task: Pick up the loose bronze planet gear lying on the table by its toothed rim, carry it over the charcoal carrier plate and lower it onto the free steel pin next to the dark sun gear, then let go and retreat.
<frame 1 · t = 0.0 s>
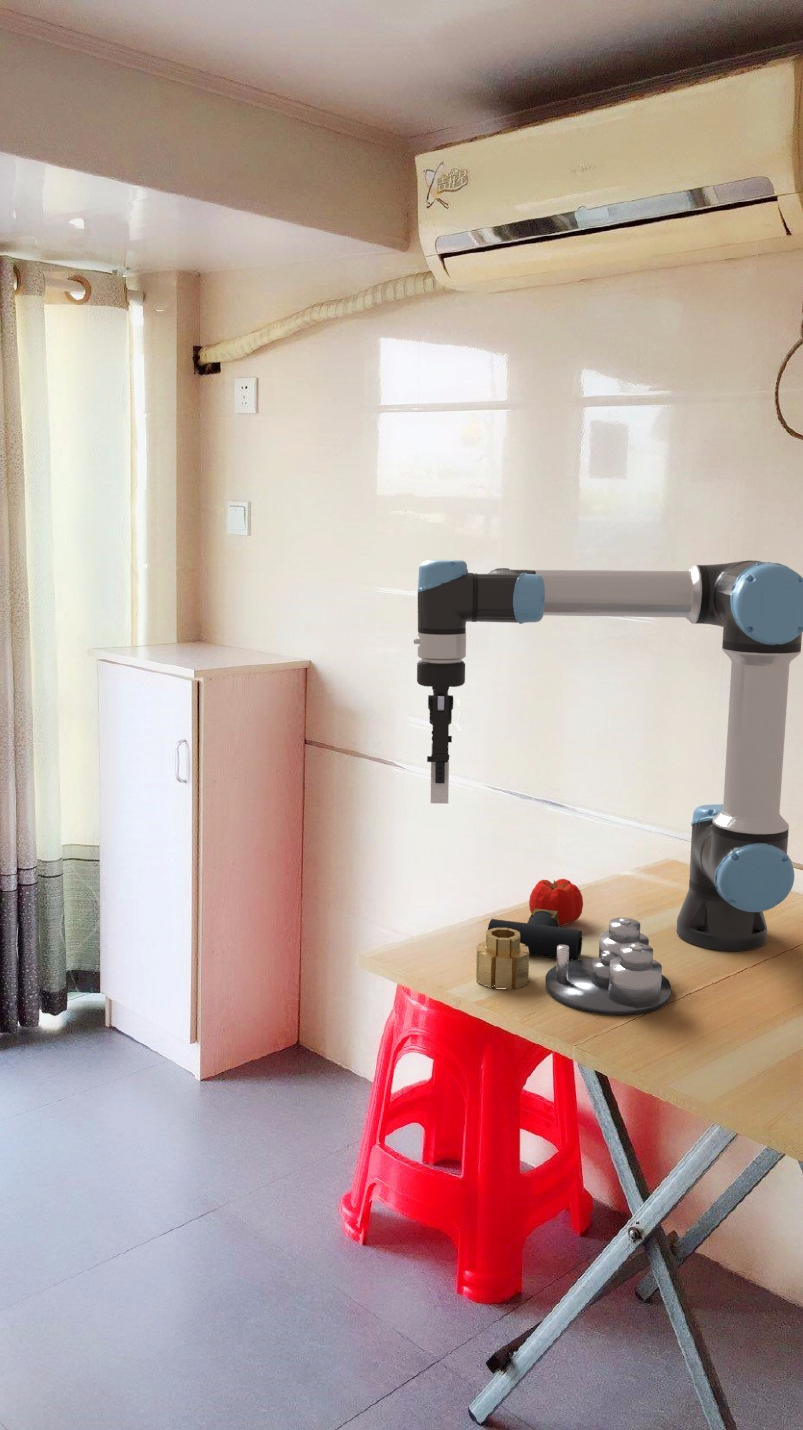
hand: (439, 792, 185), 28 cm above the table, fingers open, 13 cm apart
planet gear: (501, 979, 182), on the table
tomato: (555, 924, 207), on the table
pipe connector: (538, 948, 196), on the table
carrier: (607, 989, 178), on the table
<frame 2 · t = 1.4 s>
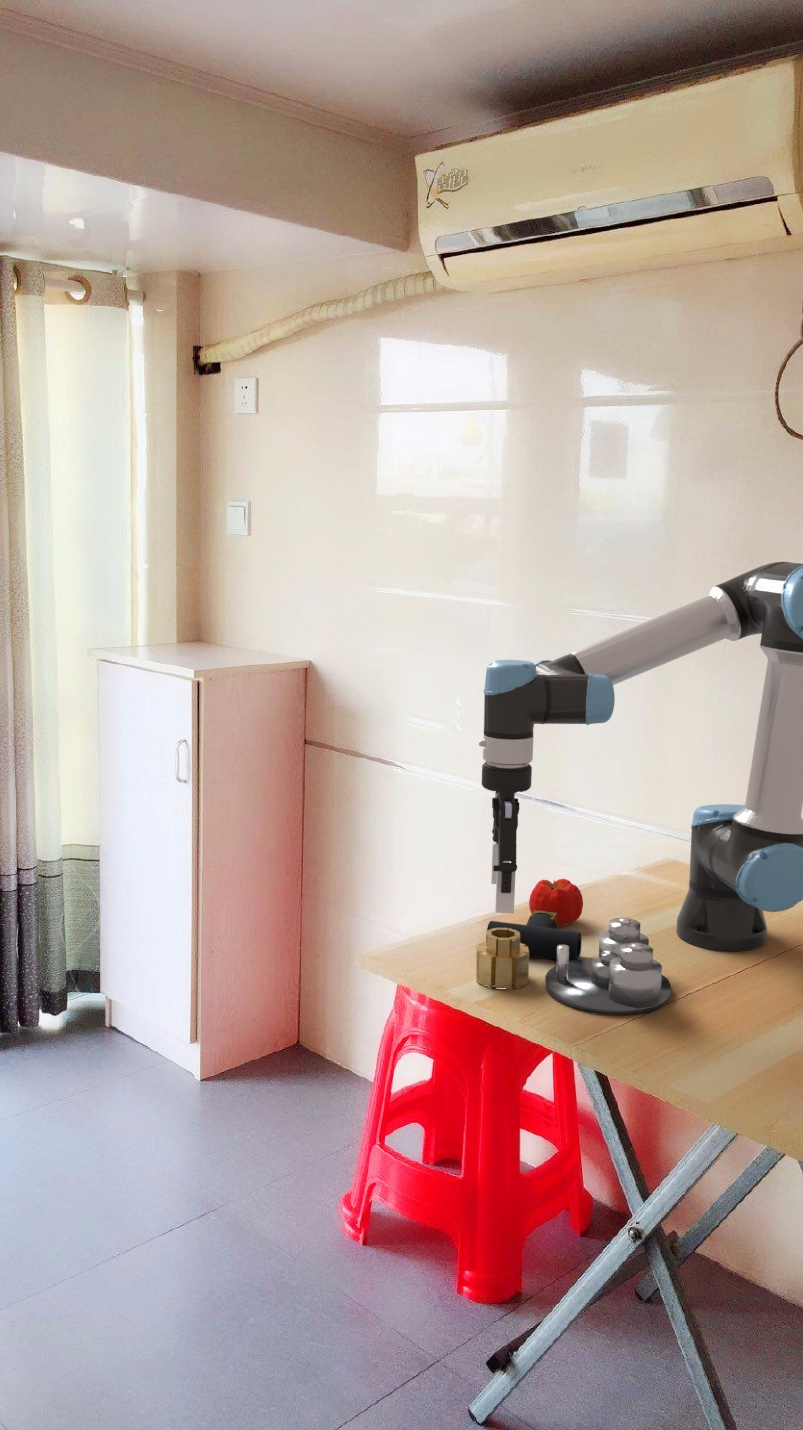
hand: (502, 897, 180), 13 cm above the table, fingers open, 13 cm apart
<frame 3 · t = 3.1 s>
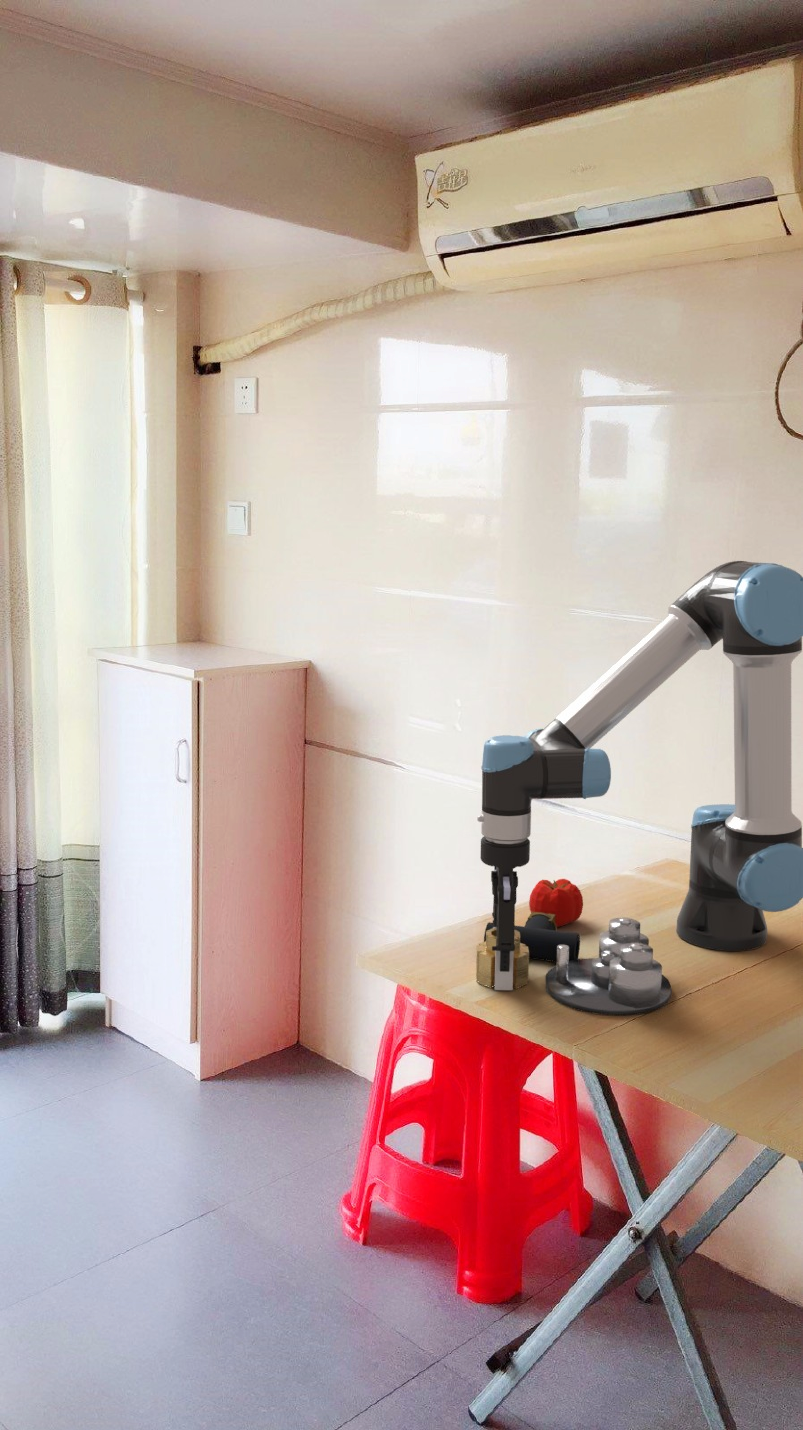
hand: (501, 977, 182), 0 cm above the table, fingers closed on planet gear, 8 cm apart
planet gear: (501, 979, 182), on the table, touching gripper
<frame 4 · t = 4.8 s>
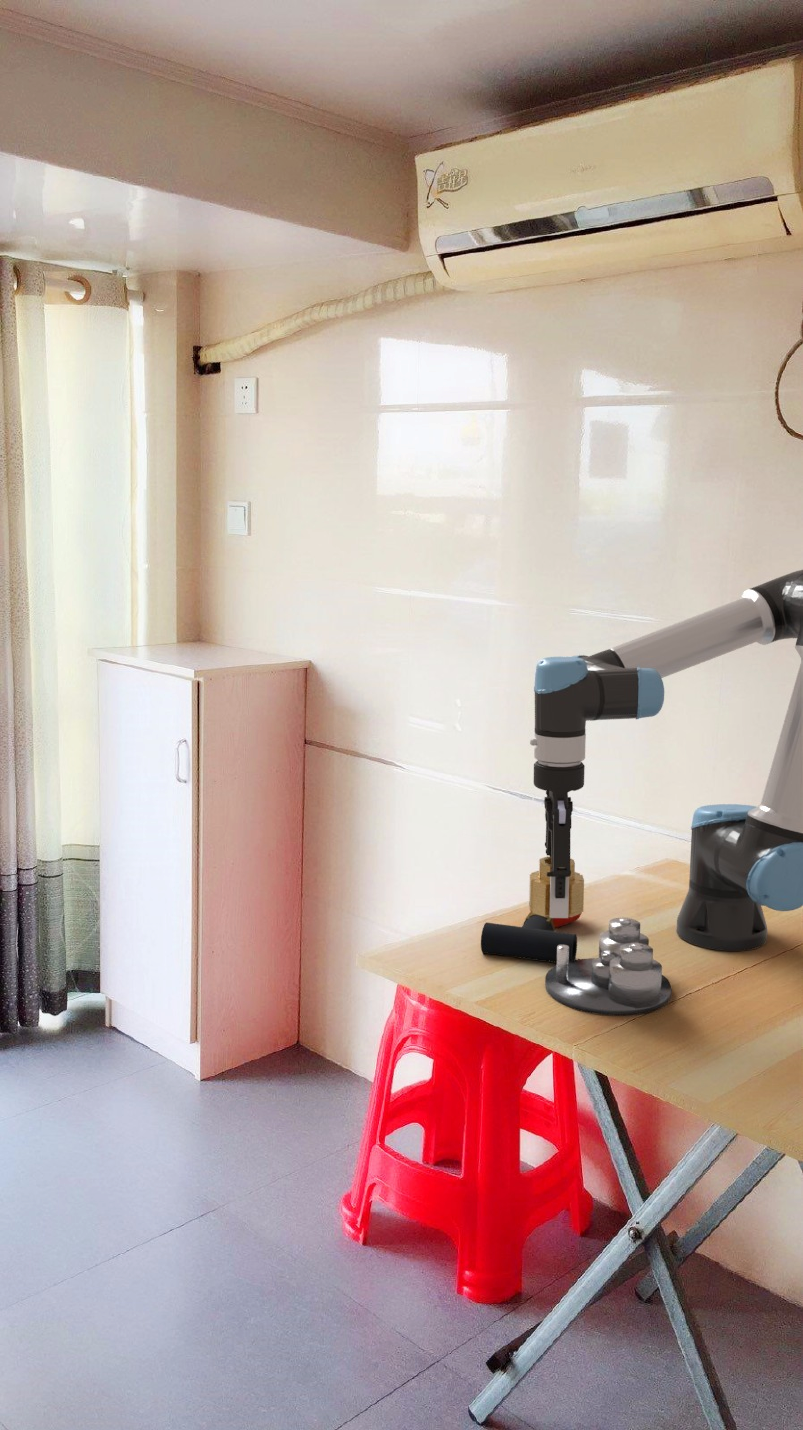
hand: (556, 907, 177), 13 cm above the table, fingers closed on planet gear, 8 cm apart
planet gear: (556, 908, 177), point 13 cm above the table, touching gripper
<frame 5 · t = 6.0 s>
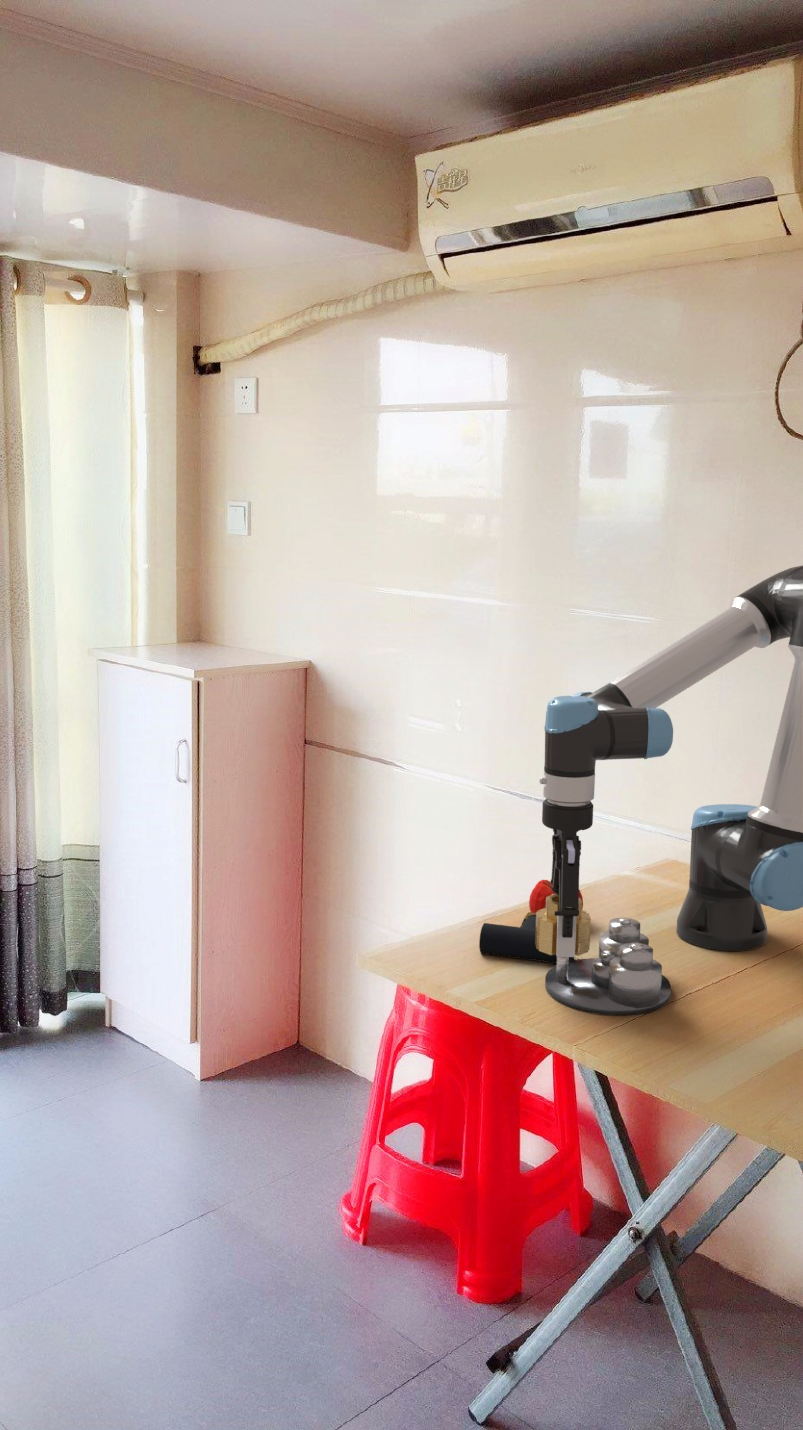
hand: (562, 945, 177), 7 cm above the table, fingers closed on planet gear, 8 cm apart
planet gear: (562, 946, 177), point 7 cm above the table, touching gripper
when the fingers open (4 cm above the table, at t = 7.0 s): planet gear drops 2 cm, resting on carrier.
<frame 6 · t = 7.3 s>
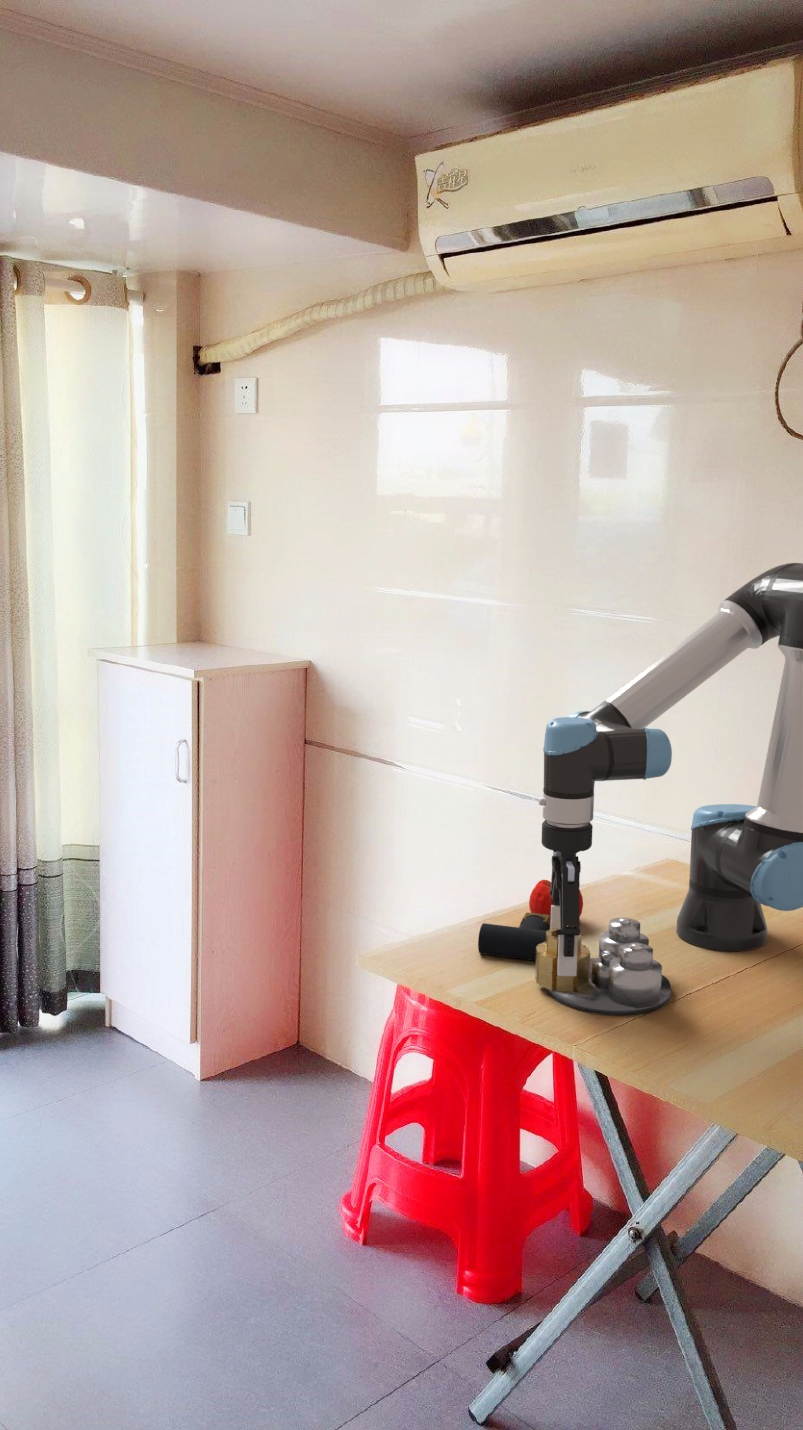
hand: (562, 960, 178), 5 cm above the table, fingers open, 11 cm apart
planet gear: (561, 980, 178), point 1 cm above the table, touching carrier
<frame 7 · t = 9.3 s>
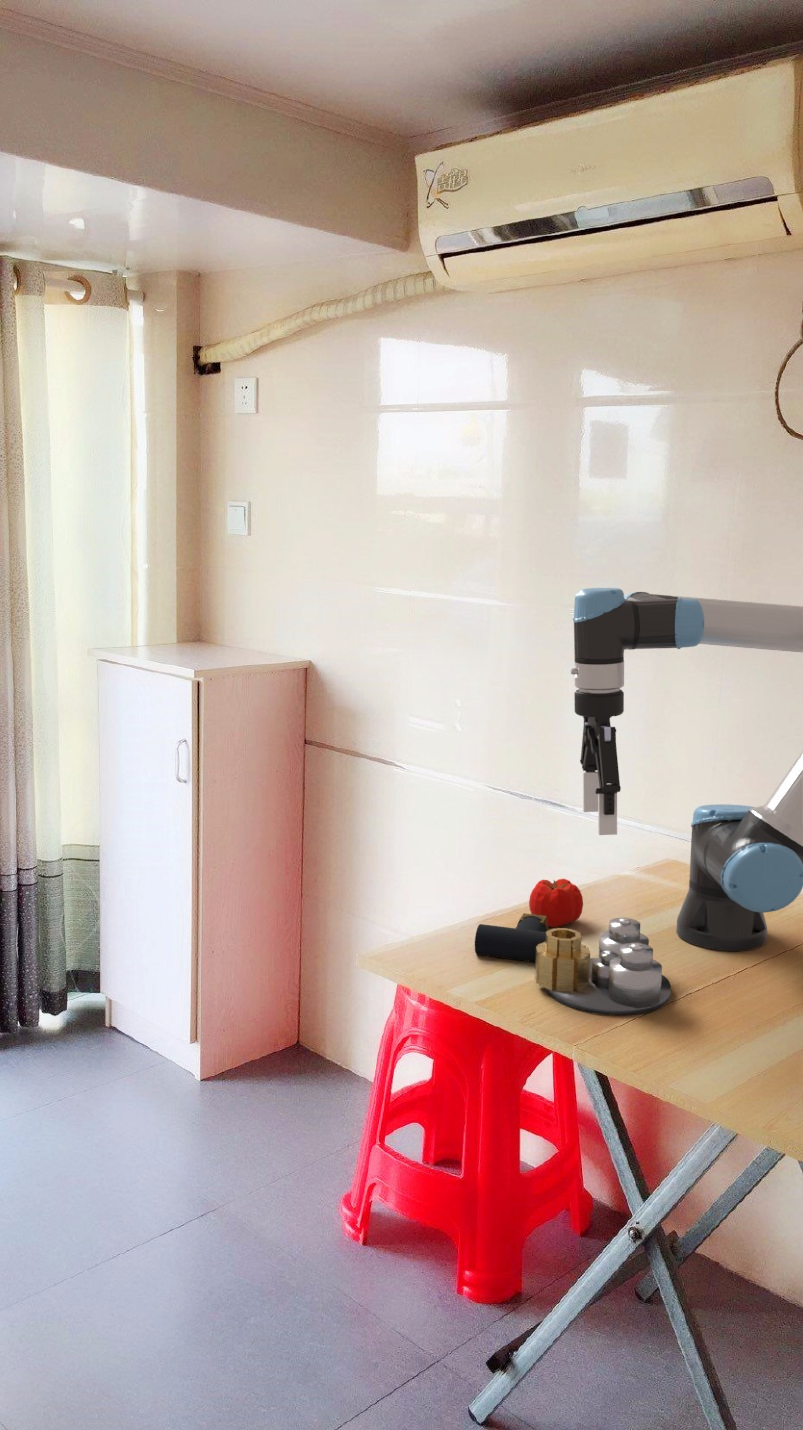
hand: (599, 822, 183), 24 cm above the table, fingers open, 13 cm apart
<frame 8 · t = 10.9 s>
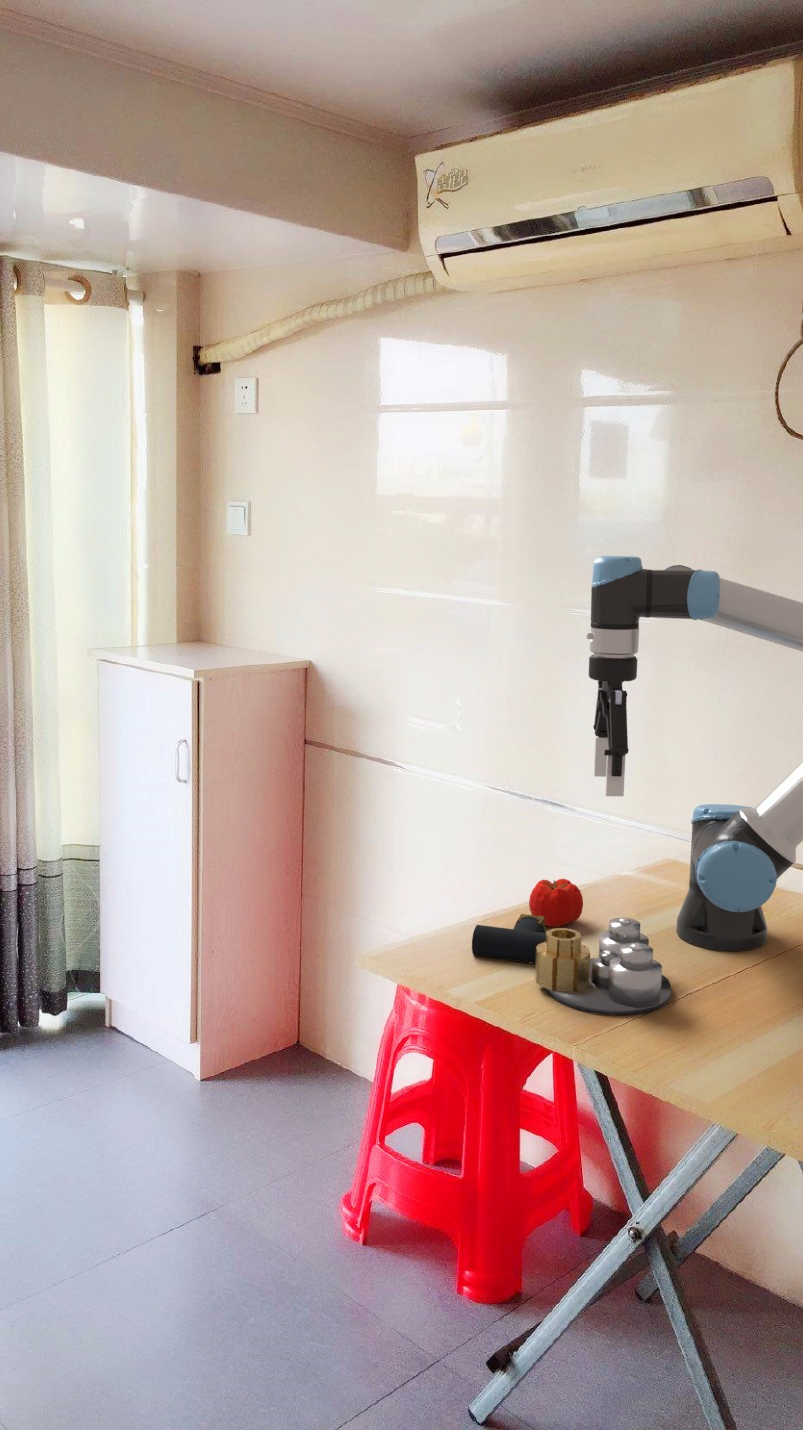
hand: (608, 785, 187), 29 cm above the table, fingers open, 13 cm apart
at the end: planet gear 0.0 cm from the target spot on the carrier, point 1.2 cm above the carrier's base; planet gear tilted 0°; the gripper is holding nothing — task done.
